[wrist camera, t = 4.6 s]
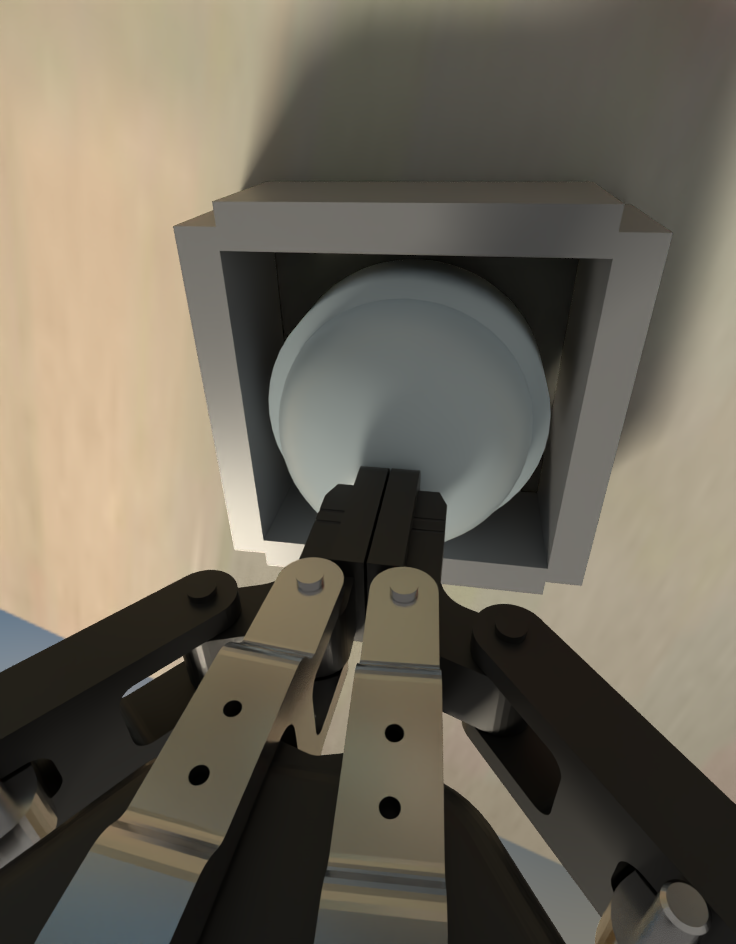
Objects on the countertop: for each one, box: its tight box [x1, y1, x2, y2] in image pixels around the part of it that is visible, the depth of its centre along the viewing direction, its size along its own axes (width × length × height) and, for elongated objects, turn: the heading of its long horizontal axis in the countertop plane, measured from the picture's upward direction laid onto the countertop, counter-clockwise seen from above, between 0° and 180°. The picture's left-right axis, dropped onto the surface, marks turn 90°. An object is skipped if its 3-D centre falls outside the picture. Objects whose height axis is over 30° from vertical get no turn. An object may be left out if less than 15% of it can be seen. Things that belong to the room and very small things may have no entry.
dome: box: [269, 259, 551, 541], centre depth 17 cm, size 9×9×8 cm
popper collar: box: [173, 181, 673, 594], centre depth 19 cm, size 12×12×4 cm
